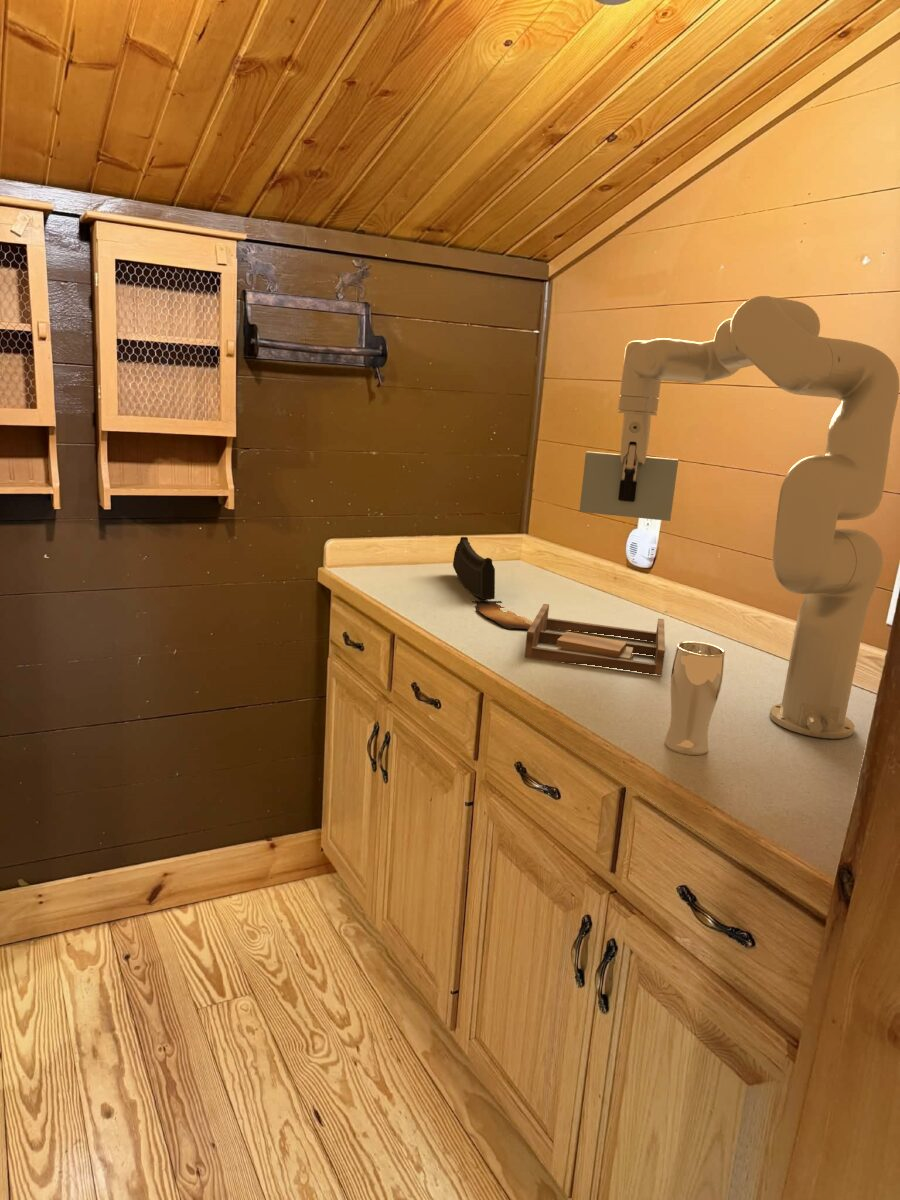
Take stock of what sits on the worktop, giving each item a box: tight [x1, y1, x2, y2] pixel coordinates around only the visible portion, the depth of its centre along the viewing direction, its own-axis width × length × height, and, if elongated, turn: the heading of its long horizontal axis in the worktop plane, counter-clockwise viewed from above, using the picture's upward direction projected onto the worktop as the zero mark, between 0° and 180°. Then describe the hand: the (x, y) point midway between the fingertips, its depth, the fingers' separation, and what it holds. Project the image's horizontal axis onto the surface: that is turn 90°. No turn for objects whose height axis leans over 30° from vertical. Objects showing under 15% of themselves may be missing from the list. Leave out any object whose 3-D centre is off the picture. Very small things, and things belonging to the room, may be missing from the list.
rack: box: [524, 603, 666, 676], centre depth 166 cm, size 24×25×5 cm
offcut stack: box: [555, 631, 634, 660], centre depth 161 cm, size 8×14×4 cm, turn 70°
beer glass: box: [664, 641, 726, 756], centre depth 120 cm, size 7×7×15 cm
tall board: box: [579, 451, 679, 522], centre depth 168 cm, size 3×18×12 cm, turn 76°
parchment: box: [471, 599, 533, 631], centre depth 187 cm, size 25×10×1 cm, turn 19°
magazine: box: [452, 536, 496, 601], centre depth 209 cm, size 17×3×30 cm
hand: (626, 499), depth 169 cm, fingers closed on tall board, 3 cm apart
